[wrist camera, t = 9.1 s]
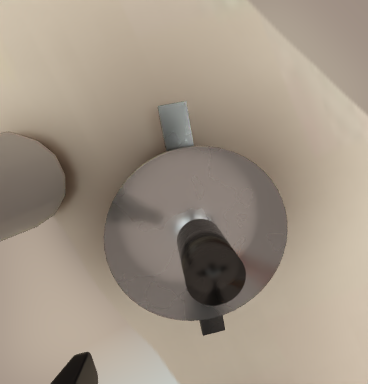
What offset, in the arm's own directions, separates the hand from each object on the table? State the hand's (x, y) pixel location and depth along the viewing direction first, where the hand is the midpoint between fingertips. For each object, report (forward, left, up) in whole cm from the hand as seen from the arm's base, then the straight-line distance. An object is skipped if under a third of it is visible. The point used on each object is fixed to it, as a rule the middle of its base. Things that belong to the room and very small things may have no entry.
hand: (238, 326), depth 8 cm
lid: (0, 0, -8) cm, 8 cm away
